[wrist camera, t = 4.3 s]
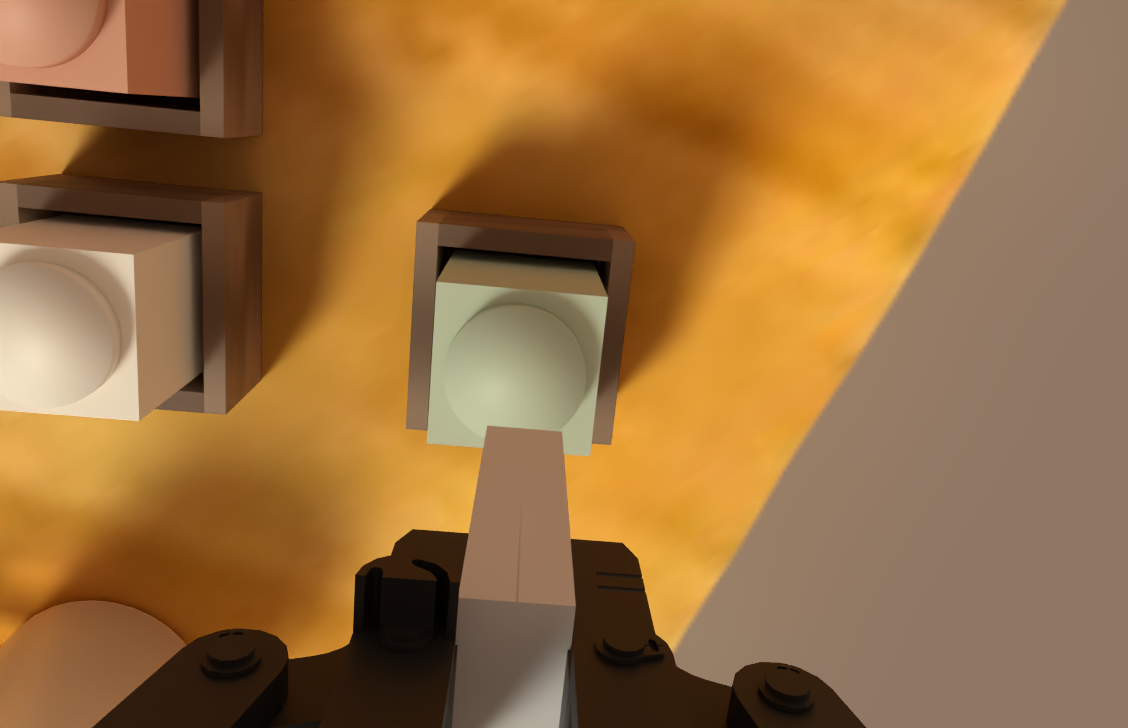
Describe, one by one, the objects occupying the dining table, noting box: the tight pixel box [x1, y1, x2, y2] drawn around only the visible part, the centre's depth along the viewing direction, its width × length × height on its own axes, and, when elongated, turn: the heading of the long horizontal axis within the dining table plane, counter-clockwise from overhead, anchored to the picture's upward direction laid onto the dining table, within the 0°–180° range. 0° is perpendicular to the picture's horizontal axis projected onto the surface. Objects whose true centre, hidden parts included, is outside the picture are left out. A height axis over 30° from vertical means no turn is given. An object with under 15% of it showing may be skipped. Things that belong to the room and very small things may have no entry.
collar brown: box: [0, 0, 263, 138], centre depth 28 cm, size 7×7×4 cm
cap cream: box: [0, 214, 204, 421], centre depth 27 cm, size 5×5×7 cm
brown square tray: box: [406, 209, 635, 445], centre depth 31 cm, size 7×7×4 cm
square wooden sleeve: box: [0, 174, 262, 415], centre depth 30 cm, size 7×7×4 cm
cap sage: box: [427, 250, 608, 456], centre depth 28 cm, size 5×5×7 cm
